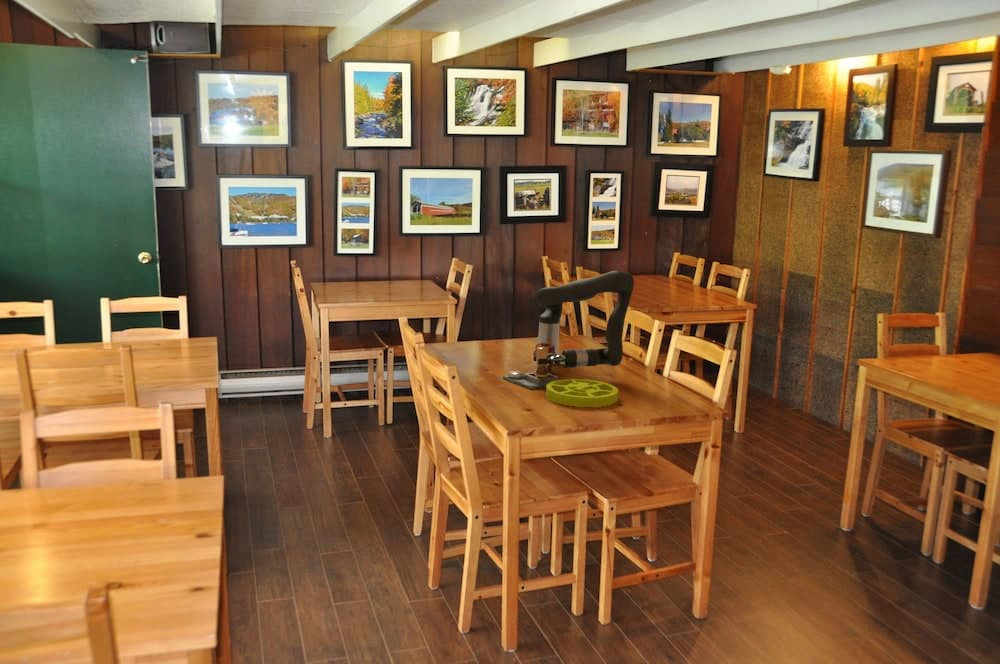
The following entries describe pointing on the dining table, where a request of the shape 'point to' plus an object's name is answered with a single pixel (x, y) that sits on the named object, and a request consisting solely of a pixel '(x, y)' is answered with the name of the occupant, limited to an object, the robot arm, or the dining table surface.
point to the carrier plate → (529, 379)
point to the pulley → (581, 392)
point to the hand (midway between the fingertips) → (536, 360)
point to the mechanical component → (550, 350)
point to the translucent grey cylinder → (541, 368)
